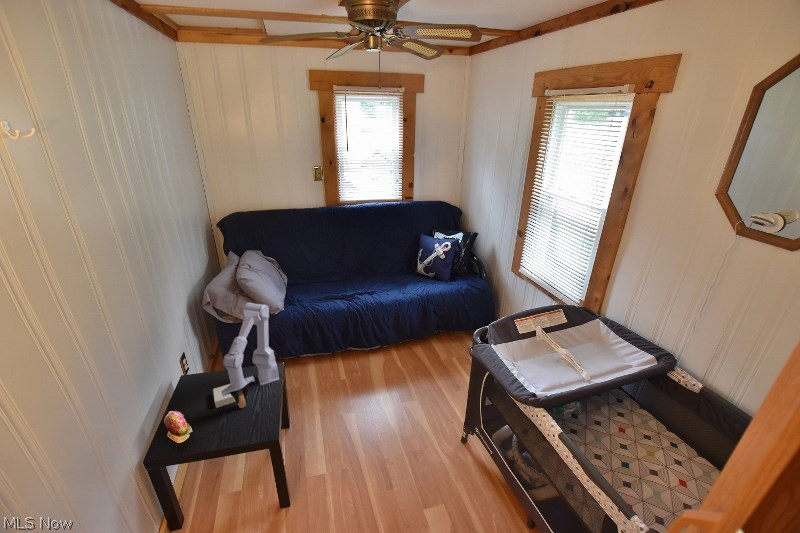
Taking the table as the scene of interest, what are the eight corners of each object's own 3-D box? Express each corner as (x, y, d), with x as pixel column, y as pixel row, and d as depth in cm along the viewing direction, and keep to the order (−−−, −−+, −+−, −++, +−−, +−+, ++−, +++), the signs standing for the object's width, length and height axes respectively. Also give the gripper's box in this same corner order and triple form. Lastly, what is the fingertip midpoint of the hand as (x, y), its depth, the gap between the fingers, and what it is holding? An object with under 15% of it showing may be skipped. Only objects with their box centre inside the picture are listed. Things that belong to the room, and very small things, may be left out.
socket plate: (244, 385, 187) (243, 379, 185) (247, 397, 179) (246, 392, 177) (214, 394, 180) (213, 388, 179) (216, 407, 172) (214, 402, 171)
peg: (245, 401, 175) (242, 386, 171) (246, 406, 172) (243, 391, 169) (238, 404, 174) (234, 389, 170) (239, 409, 171) (235, 393, 167)
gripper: (247, 365, 174) (252, 387, 179) (216, 380, 164) (222, 403, 169) (254, 372, 169) (259, 395, 174) (222, 387, 159) (228, 411, 165)
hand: (241, 399), depth 172 cm, fingers closed on peg, 3 cm apart
